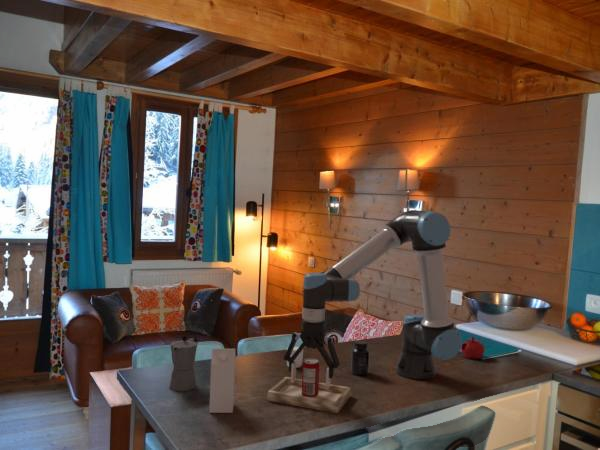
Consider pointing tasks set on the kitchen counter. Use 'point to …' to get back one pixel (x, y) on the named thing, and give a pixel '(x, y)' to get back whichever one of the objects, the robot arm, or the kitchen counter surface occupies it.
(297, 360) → the white cylinder
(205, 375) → the kitchen counter surface
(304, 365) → the soda can
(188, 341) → the coffeepot
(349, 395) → the tray
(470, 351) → the pomegranate
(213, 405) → the milk carton
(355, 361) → the supplement bottle
